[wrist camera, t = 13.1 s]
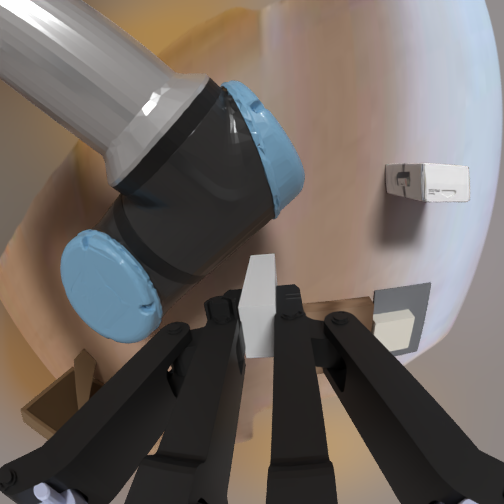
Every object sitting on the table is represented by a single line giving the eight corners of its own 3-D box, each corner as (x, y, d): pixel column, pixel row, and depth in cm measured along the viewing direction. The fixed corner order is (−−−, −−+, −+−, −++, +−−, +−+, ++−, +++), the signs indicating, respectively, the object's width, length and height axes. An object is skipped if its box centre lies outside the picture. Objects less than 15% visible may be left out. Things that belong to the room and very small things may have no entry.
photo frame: (140, 409, 58) (106, 480, 35) (74, 376, 58) (30, 433, 34) (142, 375, 54) (97, 457, 30) (68, 339, 53) (11, 399, 30)
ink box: (427, 163, 36) (471, 166, 24) (428, 193, 37) (471, 204, 26) (383, 162, 37) (421, 162, 25) (385, 193, 38) (422, 205, 27)
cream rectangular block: (366, 345, 46) (370, 355, 43) (370, 315, 44) (375, 323, 41) (402, 339, 45) (408, 347, 43) (408, 309, 43) (414, 317, 40)
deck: (282, 366, 49) (283, 376, 46) (278, 305, 45) (278, 315, 42) (361, 357, 48) (365, 367, 45) (368, 296, 44) (374, 304, 41)
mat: (366, 360, 48) (366, 361, 47) (374, 290, 43) (375, 291, 43) (416, 350, 47) (417, 351, 46) (430, 282, 42) (431, 283, 41)
